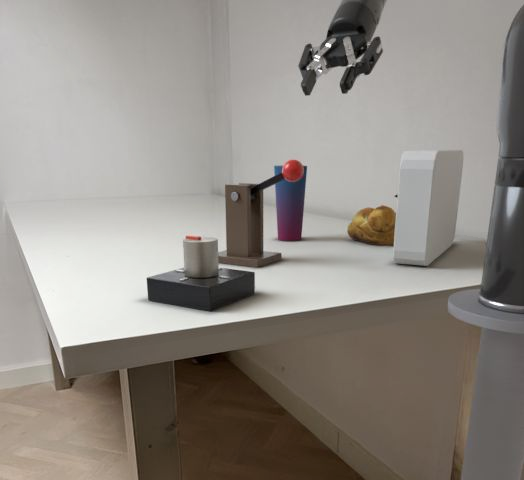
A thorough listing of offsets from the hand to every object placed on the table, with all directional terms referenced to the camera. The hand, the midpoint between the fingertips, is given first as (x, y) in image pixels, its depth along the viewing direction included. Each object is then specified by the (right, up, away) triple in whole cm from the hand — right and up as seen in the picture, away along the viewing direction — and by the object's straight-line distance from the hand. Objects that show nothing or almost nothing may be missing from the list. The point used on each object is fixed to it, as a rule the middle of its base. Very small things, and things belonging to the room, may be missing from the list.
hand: (324, 90), depth 91 cm
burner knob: (-18, -33, -19) cm, 42 cm away
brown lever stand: (-13, -27, +6) cm, 31 cm away
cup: (-4, -19, +28) cm, 34 cm away
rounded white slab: (+20, -25, +12) cm, 34 cm away
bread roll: (+13, -20, +25) cm, 35 cm away
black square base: (-18, -36, -18) cm, 44 cm away
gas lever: (-9, -17, -1) cm, 19 cm away
